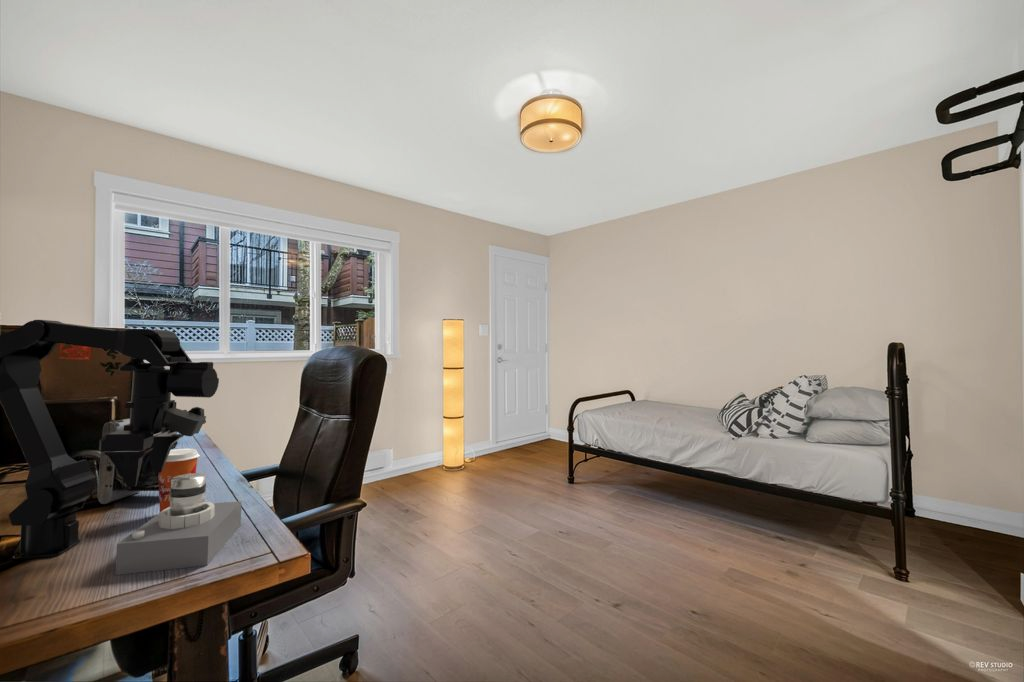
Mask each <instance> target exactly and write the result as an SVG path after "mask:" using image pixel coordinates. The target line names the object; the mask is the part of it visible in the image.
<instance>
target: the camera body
mask: <svg viewBox="0 0 1024 682" xmlns="http://www.w3.org/2000/svg"><path fill="white" fill-rule="evenodd" d="M241 522H242V501H241V500H239V501H226V502H214V503H213V502H210V501H209V502H208V501H205V504H204V510H203V511H200V512H198V513H193V514H188V515H180V516H170V506H169V507H168V508H166V509H164V510H163V511H161V512H160V511H159V513H158V514H156V515H155V516H154V517H152V518H151V519H150V520H148V521H147V522H146V523H144V524H143V525H141V526H140V527H138V528H137V529H136V530H135V531H132V533H130V534H129V535H127V536H126V537H125V538H123V539H122V540H120V541H119V542H118V543H116V557H115V560H116V561H115V575H117V576H119V575H129V574H135V573H136V574H137V573H147V572H156V571H164V570H177V569H184V568H195V567H205V566H208V565H210V563H211V562H212V560H213V559H214V558H216V557H215V556H217V554H218V553H219V552H220V551H221V549H222V548H223V547H224V546H225V545H226V543H228V541H229V540H230V538H232V536H233V535H234V533H235V532H237V530H238V529H239V528H240V526H241V525H242V523H241Z"/></svg>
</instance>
